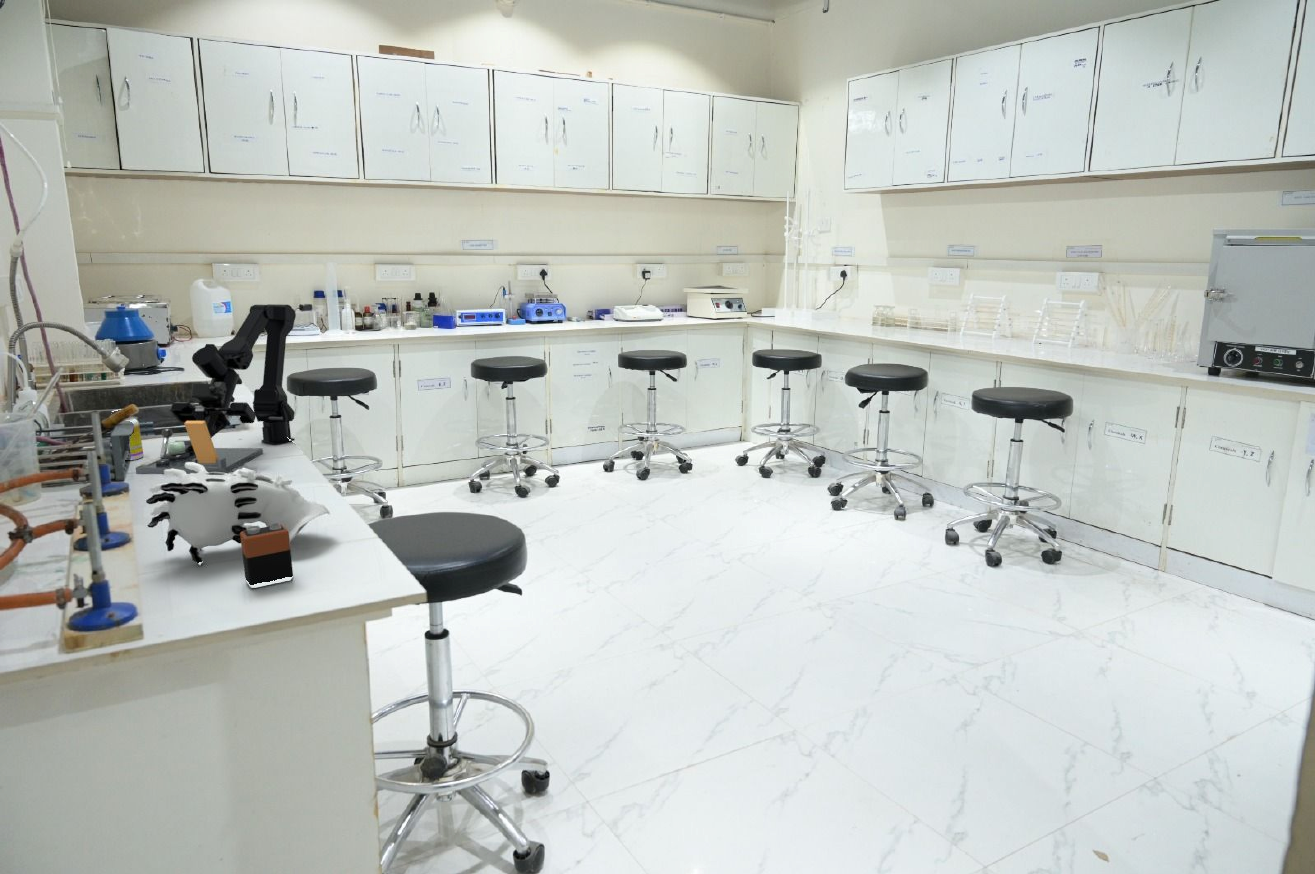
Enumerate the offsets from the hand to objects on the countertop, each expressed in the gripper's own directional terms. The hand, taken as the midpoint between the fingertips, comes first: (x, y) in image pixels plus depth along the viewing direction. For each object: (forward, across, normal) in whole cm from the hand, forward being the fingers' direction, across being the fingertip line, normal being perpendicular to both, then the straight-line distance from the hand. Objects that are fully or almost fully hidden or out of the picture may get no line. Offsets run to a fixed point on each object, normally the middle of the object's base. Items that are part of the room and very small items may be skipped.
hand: (203, 441), depth 203 cm
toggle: (+1, -13, +7) cm, 15 cm away
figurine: (+42, +34, -30) cm, 62 cm away
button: (-4, -13, +11) cm, 17 cm away
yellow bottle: (-5, -29, +17) cm, 34 cm away
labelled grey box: (-9, -13, +15) cm, 22 cm away
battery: (+52, +45, -40) cm, 80 cm away
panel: (-2, -7, +14) cm, 15 cm away
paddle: (+3, 0, +5) cm, 6 cm away
